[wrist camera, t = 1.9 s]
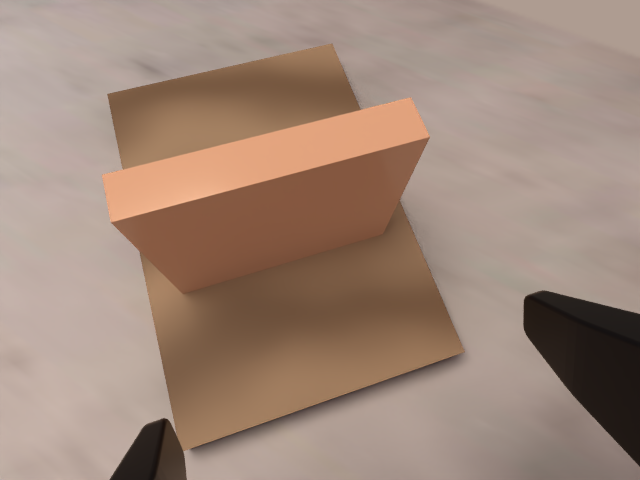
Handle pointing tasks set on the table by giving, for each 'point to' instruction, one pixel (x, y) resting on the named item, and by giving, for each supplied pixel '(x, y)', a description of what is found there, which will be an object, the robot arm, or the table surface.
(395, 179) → the tile
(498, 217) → the table surface
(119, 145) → the board
